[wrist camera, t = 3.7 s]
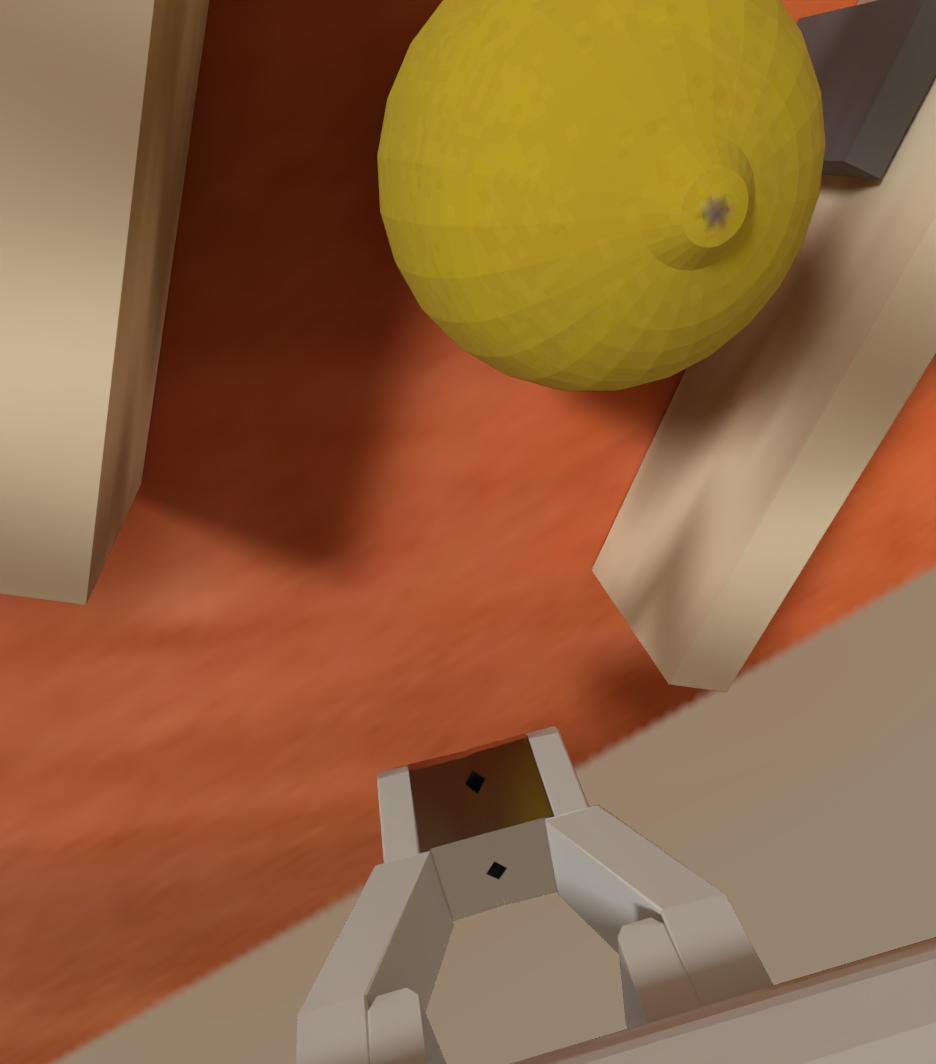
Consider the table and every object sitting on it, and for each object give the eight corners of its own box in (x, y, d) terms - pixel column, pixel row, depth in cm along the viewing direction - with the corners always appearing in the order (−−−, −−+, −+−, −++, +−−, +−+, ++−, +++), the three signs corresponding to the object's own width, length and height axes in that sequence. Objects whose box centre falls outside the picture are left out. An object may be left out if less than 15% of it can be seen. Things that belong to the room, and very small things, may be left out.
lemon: (296, 181, 13) (290, 234, 6) (505, -99, 11) (813, -451, 5) (504, 373, 15) (669, 565, 8) (694, 163, 14) (1071, 191, 7)
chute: (639, 579, 19) (726, 692, 15) (61, 467, 14) (-26, 589, 10) (950, -35, 13) (1218, -106, 9) (152, -555, 8) (31, -1125, 5)
